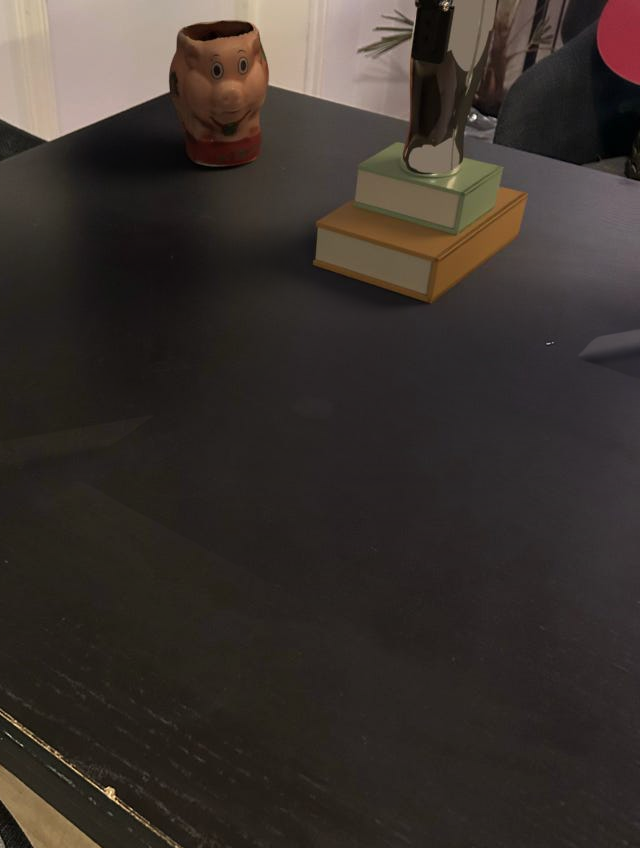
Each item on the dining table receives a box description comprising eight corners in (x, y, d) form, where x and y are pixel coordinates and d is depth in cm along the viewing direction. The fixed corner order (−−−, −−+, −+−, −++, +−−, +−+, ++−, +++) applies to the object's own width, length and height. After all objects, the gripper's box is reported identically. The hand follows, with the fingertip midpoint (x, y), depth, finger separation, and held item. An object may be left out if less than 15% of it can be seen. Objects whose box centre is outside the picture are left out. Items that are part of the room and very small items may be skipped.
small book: (494, 208, 92) (503, 166, 89) (457, 235, 88) (465, 192, 85) (391, 181, 97) (397, 141, 94) (352, 205, 94) (357, 165, 91)
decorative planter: (155, 131, 123) (149, 9, 113) (241, 119, 125) (243, -2, 114) (192, 187, 110) (189, 55, 100) (288, 173, 111) (295, 42, 101)
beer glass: (380, 162, 91) (402, -18, 80) (436, 147, 93) (465, -31, 82) (424, 185, 87) (454, -2, 76) (482, 169, 89) (519, -16, 77)
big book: (517, 236, 97) (528, 193, 94) (431, 303, 88) (439, 258, 85) (403, 205, 104) (409, 163, 100) (312, 265, 95) (315, 221, 92)
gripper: (482, -203, 63) (437, 83, 76) (590, -232, 72) (532, 31, 85) (389, -206, 67) (361, 68, 80) (502, -233, 75) (460, 19, 88)
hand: (450, 47), depth 82 cm, fingers closed on beer glass, 7 cm apart
